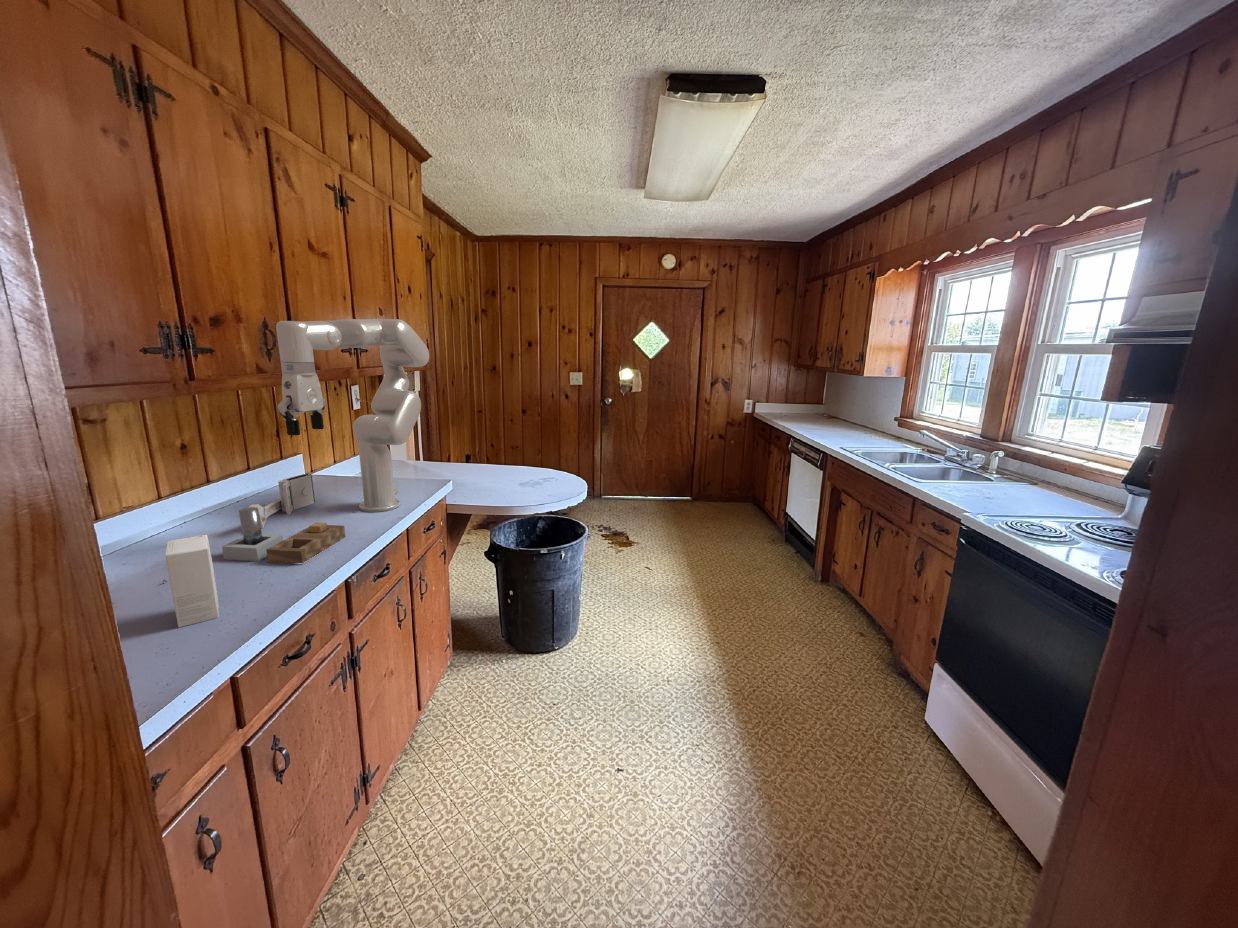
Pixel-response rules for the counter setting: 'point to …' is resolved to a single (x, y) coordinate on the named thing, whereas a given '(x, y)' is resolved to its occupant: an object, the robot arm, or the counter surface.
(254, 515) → the grey metal rounded cylinder
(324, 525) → the tan square peg
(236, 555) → the holder
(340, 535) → the socket block
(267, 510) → the wrench
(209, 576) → the skincare box
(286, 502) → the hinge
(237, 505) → the counter surface
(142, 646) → the counter surface
